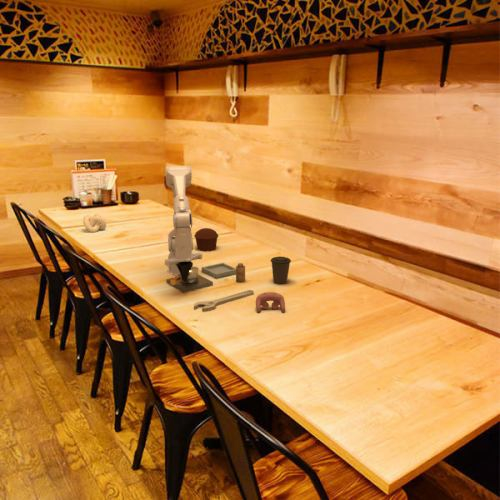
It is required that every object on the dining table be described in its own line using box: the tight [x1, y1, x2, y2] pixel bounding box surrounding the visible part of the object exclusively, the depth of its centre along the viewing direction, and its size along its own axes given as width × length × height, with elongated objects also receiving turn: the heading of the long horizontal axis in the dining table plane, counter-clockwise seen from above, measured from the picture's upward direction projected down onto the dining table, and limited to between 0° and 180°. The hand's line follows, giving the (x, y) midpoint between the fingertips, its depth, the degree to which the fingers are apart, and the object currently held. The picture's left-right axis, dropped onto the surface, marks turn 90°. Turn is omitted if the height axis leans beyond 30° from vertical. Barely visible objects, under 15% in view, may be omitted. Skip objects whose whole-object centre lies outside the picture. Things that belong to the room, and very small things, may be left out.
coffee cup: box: [270, 255, 292, 285], centre depth 184 cm, size 8×8×10 cm
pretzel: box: [82, 213, 107, 233], centre depth 260 cm, size 11×12×9 cm
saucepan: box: [170, 266, 199, 286], centre depth 177 cm, size 16×7×7 cm, turn 160°
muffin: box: [193, 227, 219, 252], centre depth 228 cm, size 12×11×10 cm
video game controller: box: [255, 291, 286, 314], centre depth 159 cm, size 10×5×7 cm, turn 92°
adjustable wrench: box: [193, 289, 255, 313], centre depth 166 cm, size 25×6×2 cm, turn 126°
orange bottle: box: [235, 262, 246, 284], centre depth 185 cm, size 4×4×7 cm
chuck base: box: [166, 274, 214, 293], centre depth 182 cm, size 13×13×2 cm
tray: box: [201, 262, 236, 280], centre depth 195 cm, size 11×11×2 cm
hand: (184, 280), depth 173 cm, fingers closed
